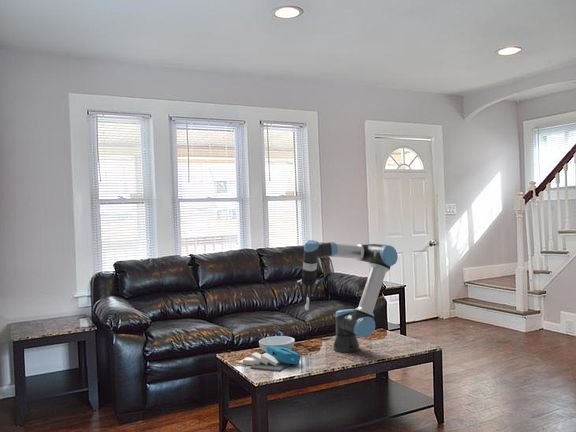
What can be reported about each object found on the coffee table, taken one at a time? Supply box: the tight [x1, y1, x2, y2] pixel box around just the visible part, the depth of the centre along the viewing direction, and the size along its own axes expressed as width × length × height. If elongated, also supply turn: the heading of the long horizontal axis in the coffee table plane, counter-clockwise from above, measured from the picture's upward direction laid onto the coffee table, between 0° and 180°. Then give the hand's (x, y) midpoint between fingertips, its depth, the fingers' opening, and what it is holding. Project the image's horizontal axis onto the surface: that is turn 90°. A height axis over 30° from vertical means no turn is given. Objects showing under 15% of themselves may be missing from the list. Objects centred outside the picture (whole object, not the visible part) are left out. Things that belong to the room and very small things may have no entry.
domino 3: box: [250, 351, 269, 365], centre depth 275 cm, size 2×5×10 cm
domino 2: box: [242, 356, 262, 364], centre depth 276 cm, size 2×5×10 cm
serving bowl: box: [258, 335, 296, 353], centre depth 298 cm, size 21×21×7 cm
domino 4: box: [260, 352, 281, 366], centre depth 273 cm, size 2×5×10 cm
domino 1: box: [237, 359, 254, 366], centre depth 278 cm, size 2×5×10 cm
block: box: [265, 346, 301, 365], centre depth 277 cm, size 12×5×20 cm
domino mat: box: [249, 361, 291, 372], centre depth 272 cm, size 17×16×1 cm
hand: (306, 309), depth 281 cm, fingers closed
